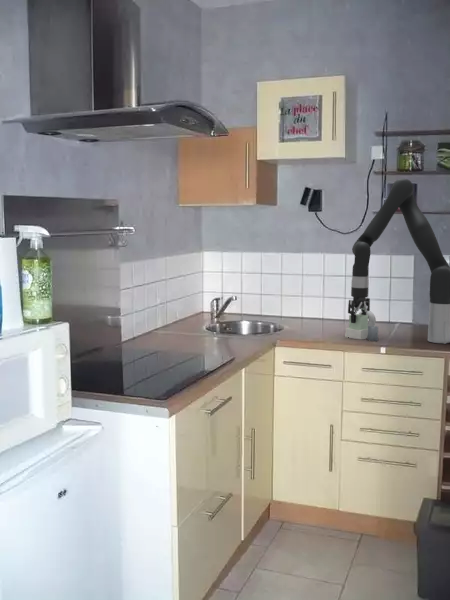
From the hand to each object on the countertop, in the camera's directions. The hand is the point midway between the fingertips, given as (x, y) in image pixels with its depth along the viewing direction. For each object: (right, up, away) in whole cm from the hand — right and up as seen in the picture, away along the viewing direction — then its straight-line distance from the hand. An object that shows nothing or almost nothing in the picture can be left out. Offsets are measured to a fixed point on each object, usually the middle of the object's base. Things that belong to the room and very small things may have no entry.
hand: (358, 321), depth 294 cm
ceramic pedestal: (0, -7, +1) cm, 7 cm away
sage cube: (0, -3, +1) cm, 3 cm away
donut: (+7, -5, +19) cm, 21 cm away
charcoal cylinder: (+5, -8, -5) cm, 11 cm away
